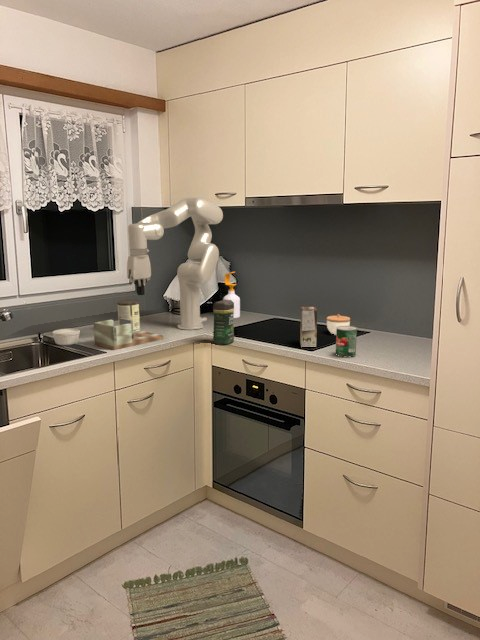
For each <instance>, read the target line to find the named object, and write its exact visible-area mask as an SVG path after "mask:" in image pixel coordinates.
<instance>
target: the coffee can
mask: <svg viewBox="0 0 480 640" xmlns="http://www.w3.org/2000/svg"><path fill="white" fill-rule="evenodd" d="M116 305H117V322H118V323H117V324H118V325H120V323H119V318H124V319H129V320H132V321H133V333H135V332H140V331H141V321H140V320H141V319H140V300H137V299H122V300H118V301H117V302H116ZM118 325H117V326H118Z"/></svg>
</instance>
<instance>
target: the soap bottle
mask: <svg viewBox="0 0 480 640" xmlns="http://www.w3.org/2000/svg"><path fill="white" fill-rule="evenodd" d="M235 273H236V271H231V272H228V273H225V274H224V285H225V286H228V287H229V288H228V291H227V292H228V293H227V294H226V295H225V296H223V299H222V300H232V301H233V302H234V315H233V319H238V318H240V317H241V298H240V296H238V295H237V294H236V293H235V289H234V287H235V286H237V283H231V277H230V276H231V274H235Z"/></svg>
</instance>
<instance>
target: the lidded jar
mask: <svg viewBox="0 0 480 640" xmlns="http://www.w3.org/2000/svg"><path fill="white" fill-rule="evenodd" d="M350 324H351V317H349V316H346V315H345V316H344V315H340V313H337V315H329V316H327V317H326V328H327V330H328V331H329V333H330V334H331V335H332V334H334V335H333V336H336V331H337V327H338V326H351V325H350Z"/></svg>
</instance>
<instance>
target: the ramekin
mask: <svg viewBox="0 0 480 640" xmlns="http://www.w3.org/2000/svg"><path fill="white" fill-rule="evenodd" d="M80 334H81V331H80V329H78V328H60V329H55V330H53V331H52V335H53V339H54V343H55V344H56V345H58V346H59V345H60V346H71V345H75V344H77V343H79V340H80ZM74 343H75V344H74Z"/></svg>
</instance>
